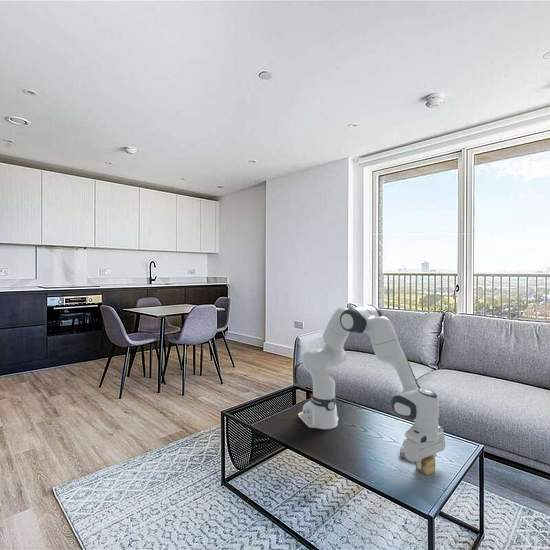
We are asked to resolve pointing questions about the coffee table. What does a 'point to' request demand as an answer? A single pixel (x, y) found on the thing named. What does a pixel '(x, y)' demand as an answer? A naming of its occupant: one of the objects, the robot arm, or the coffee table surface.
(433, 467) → the oak cube
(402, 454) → the stone block
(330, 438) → the coffee table surface
